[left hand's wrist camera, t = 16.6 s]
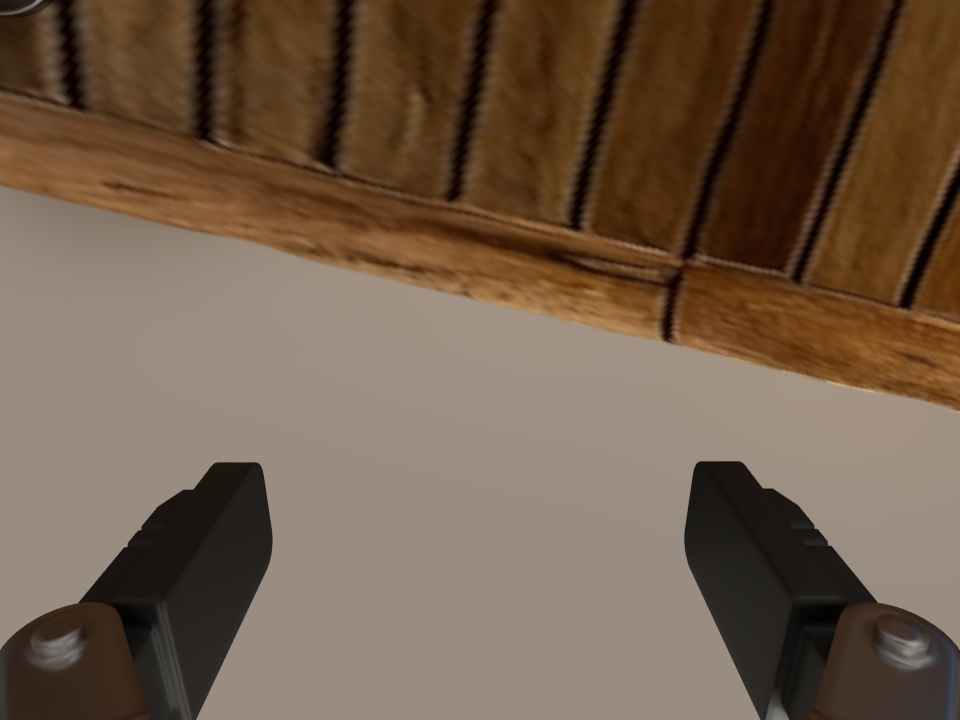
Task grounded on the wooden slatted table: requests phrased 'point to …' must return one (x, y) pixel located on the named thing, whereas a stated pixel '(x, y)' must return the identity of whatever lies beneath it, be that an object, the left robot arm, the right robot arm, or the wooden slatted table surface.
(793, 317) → the wooden slatted table surface
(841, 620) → the left robot arm
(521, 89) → the wooden slatted table surface
